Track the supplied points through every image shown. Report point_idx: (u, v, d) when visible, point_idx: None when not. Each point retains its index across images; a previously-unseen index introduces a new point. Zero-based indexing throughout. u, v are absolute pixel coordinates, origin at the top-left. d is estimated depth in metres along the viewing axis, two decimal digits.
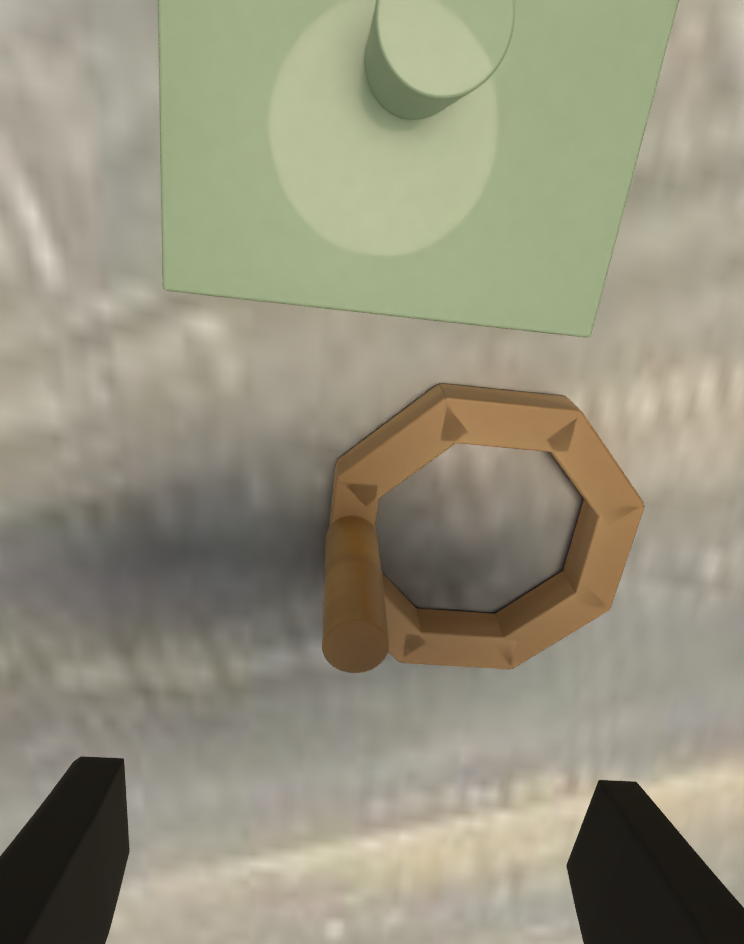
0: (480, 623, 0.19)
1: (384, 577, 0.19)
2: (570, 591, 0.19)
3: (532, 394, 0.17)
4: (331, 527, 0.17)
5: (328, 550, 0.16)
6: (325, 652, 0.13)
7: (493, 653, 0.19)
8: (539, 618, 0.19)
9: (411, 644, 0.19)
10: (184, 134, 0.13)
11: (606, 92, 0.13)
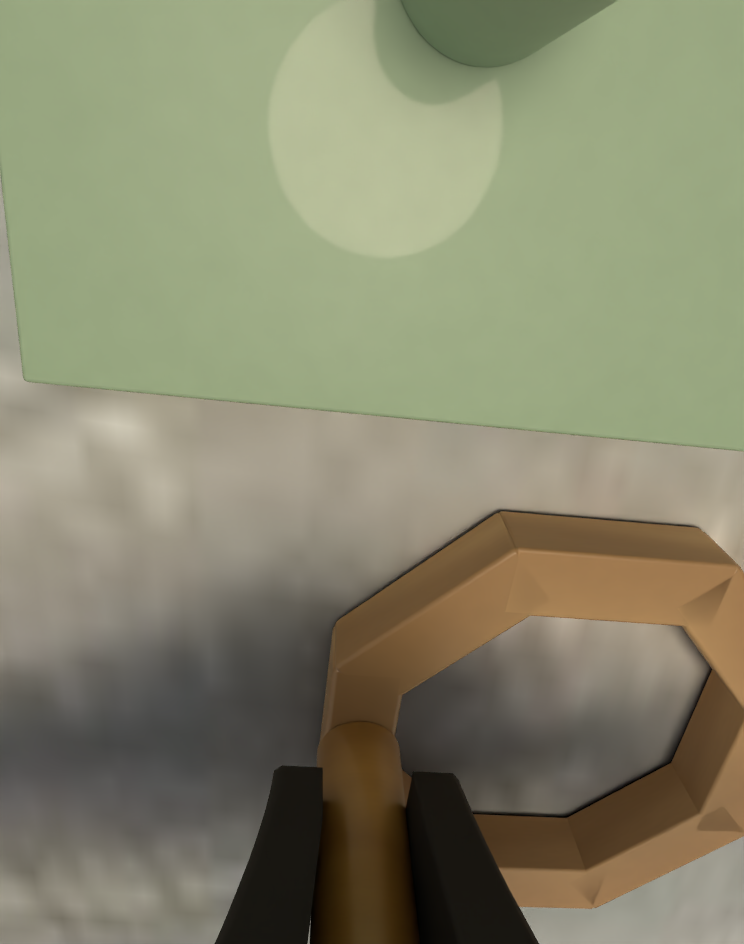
0: (548, 841, 0.13)
1: (406, 779, 0.13)
2: (689, 806, 0.12)
3: (649, 527, 0.10)
4: (326, 740, 0.10)
5: None
6: None
7: (569, 890, 0.13)
8: (641, 847, 0.12)
9: None
10: (36, 95, 0.07)
11: None
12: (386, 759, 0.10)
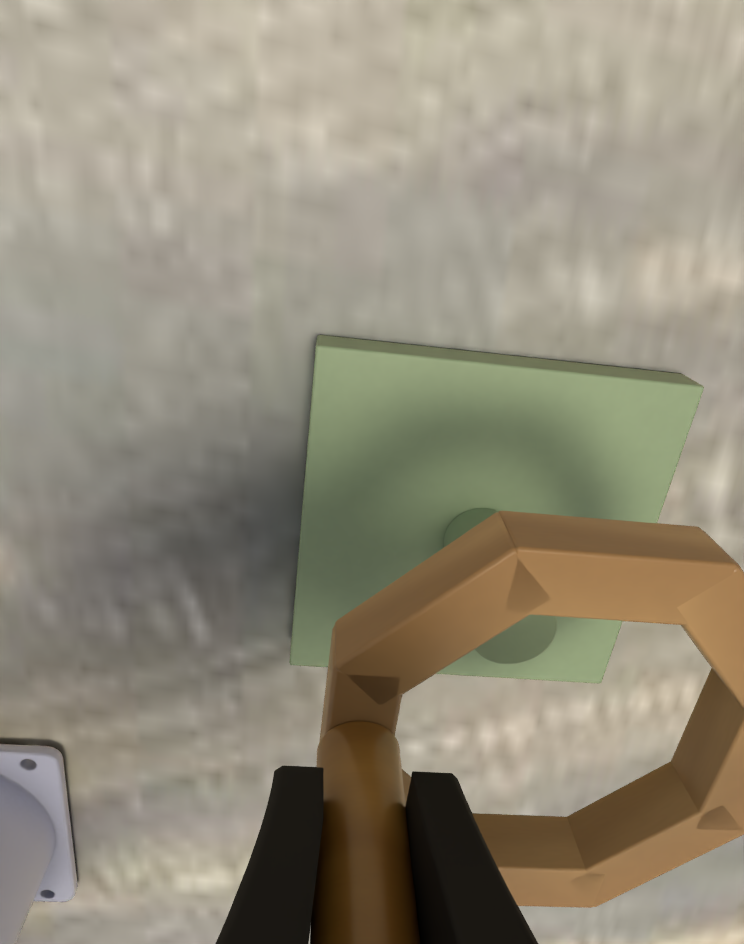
0: (548, 840, 0.13)
1: (406, 779, 0.13)
2: (689, 805, 0.12)
3: (648, 526, 0.10)
4: (325, 739, 0.10)
5: None
6: None
7: (569, 889, 0.13)
8: (640, 846, 0.12)
9: None
10: (313, 581, 0.18)
11: None
12: (386, 758, 0.10)
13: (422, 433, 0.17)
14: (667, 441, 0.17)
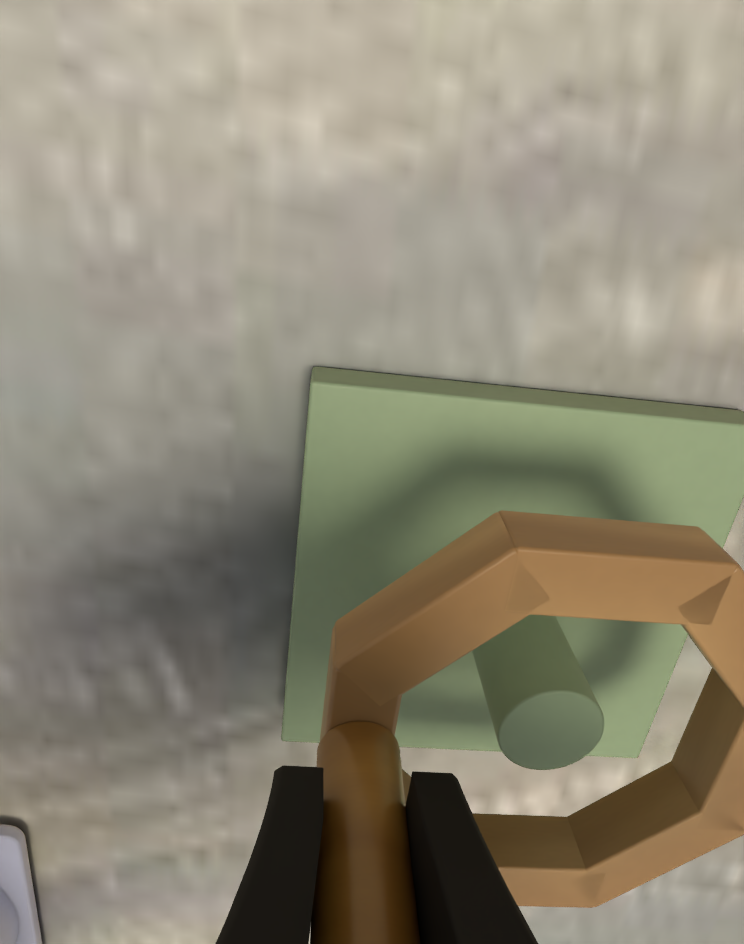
0: (548, 840, 0.13)
1: (406, 779, 0.13)
2: (689, 806, 0.12)
3: (648, 526, 0.10)
4: (325, 739, 0.10)
5: None
6: None
7: (569, 890, 0.13)
8: (641, 846, 0.12)
9: None
10: (308, 649, 0.16)
11: None
12: (386, 759, 0.10)
13: (436, 482, 0.14)
14: (725, 491, 0.14)
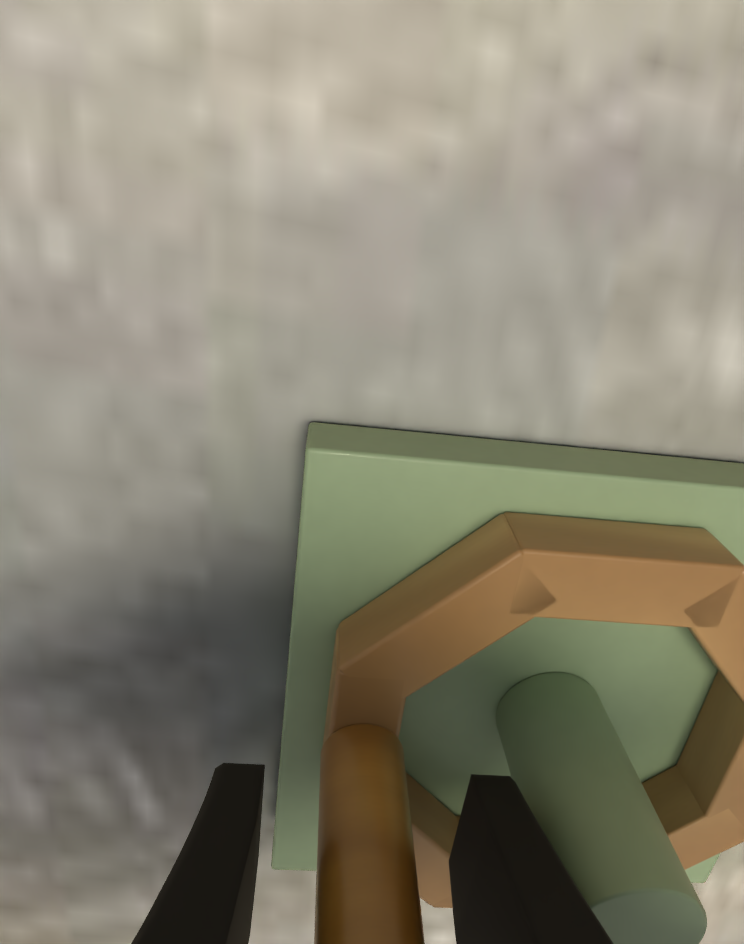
0: None
1: (410, 782, 0.13)
2: (695, 809, 0.12)
3: (654, 528, 0.10)
4: (329, 742, 0.10)
5: (324, 800, 0.10)
6: None
7: None
8: None
9: None
10: (304, 767, 0.13)
11: None
12: (390, 762, 0.10)
13: None
14: None
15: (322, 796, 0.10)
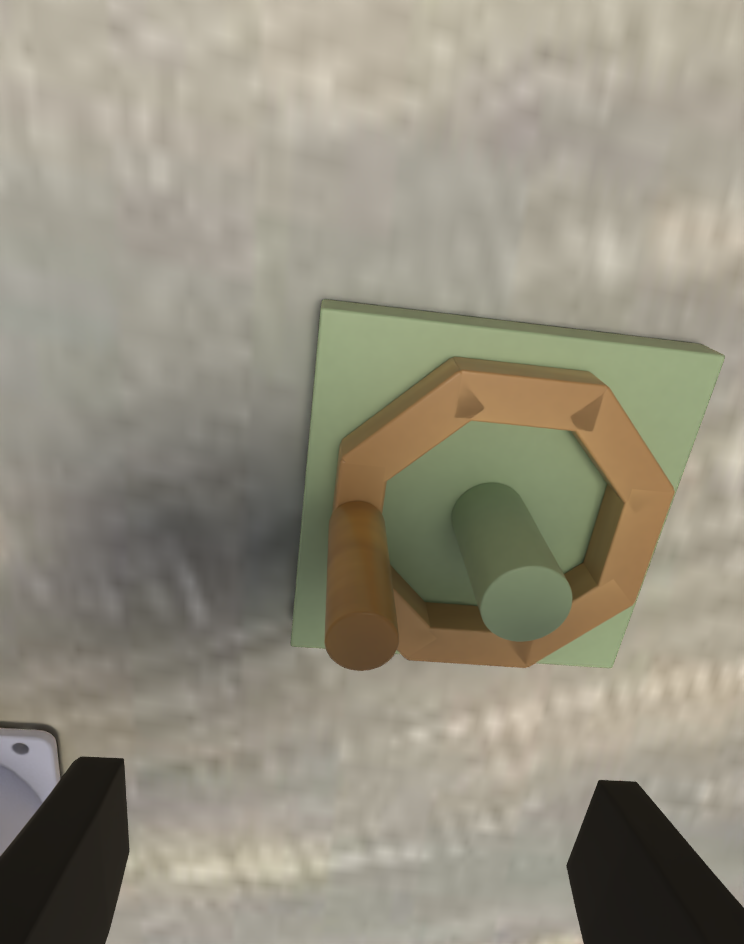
0: None
1: (391, 568, 0.18)
2: (591, 583, 0.17)
3: (554, 369, 0.15)
4: (334, 512, 0.15)
5: (331, 537, 0.15)
6: (328, 648, 0.12)
7: (508, 650, 0.18)
8: None
9: (420, 640, 0.17)
10: (315, 558, 0.18)
11: None
12: (375, 519, 0.15)
13: None
14: (686, 413, 0.16)
15: (330, 536, 0.15)
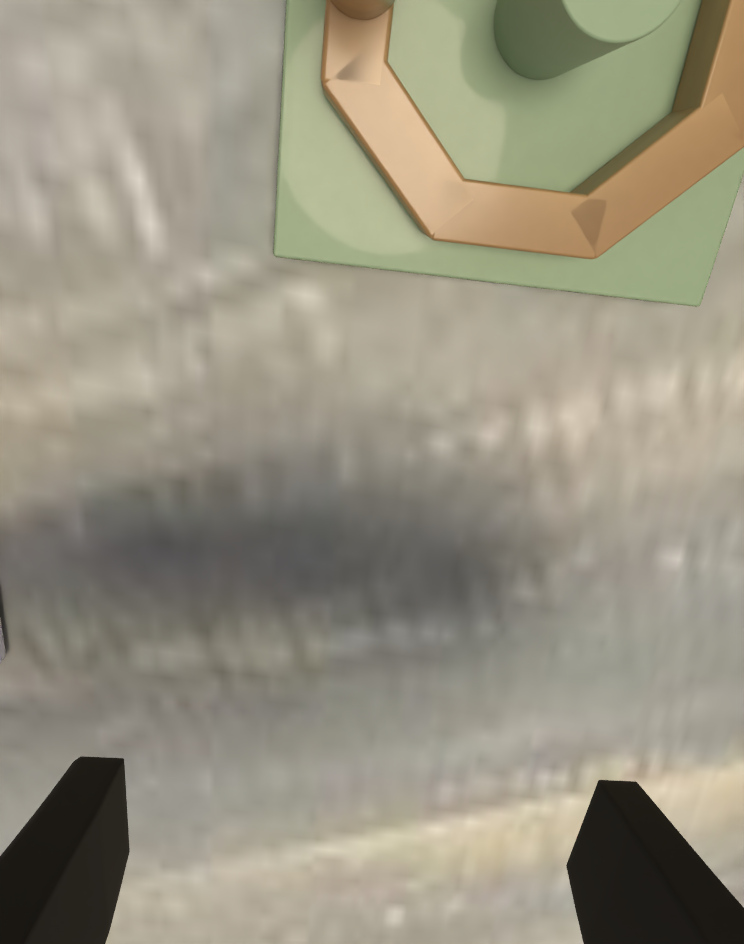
0: None
1: None
2: (690, 110, 0.12)
3: None
4: None
5: None
6: None
7: (571, 225, 0.13)
8: (642, 157, 0.12)
9: (450, 202, 0.13)
10: (306, 94, 0.13)
11: None
12: None
13: None
14: None
15: None
